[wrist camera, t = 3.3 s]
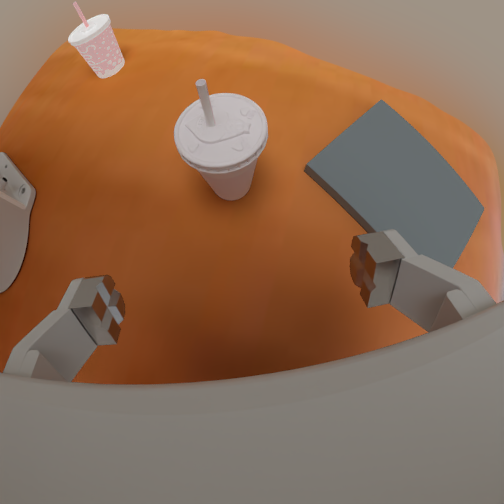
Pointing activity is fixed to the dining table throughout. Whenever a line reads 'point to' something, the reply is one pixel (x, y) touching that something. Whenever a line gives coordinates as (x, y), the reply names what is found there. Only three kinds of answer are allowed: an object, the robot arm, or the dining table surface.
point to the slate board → (398, 184)
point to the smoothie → (222, 140)
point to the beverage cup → (97, 44)
